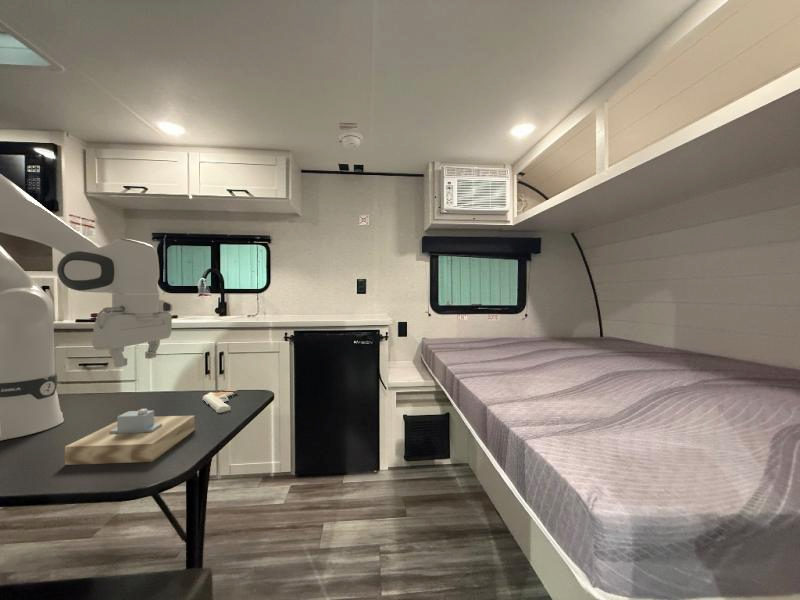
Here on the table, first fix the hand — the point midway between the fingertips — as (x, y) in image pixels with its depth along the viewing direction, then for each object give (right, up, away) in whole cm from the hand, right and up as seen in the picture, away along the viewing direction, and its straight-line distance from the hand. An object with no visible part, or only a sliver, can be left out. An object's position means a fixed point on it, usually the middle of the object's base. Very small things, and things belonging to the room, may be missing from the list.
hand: (136, 362), depth 75 cm
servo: (0, -21, 0) cm, 21 cm away
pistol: (+4, -21, +31) cm, 38 cm away
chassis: (0, -21, 0) cm, 21 cm away
